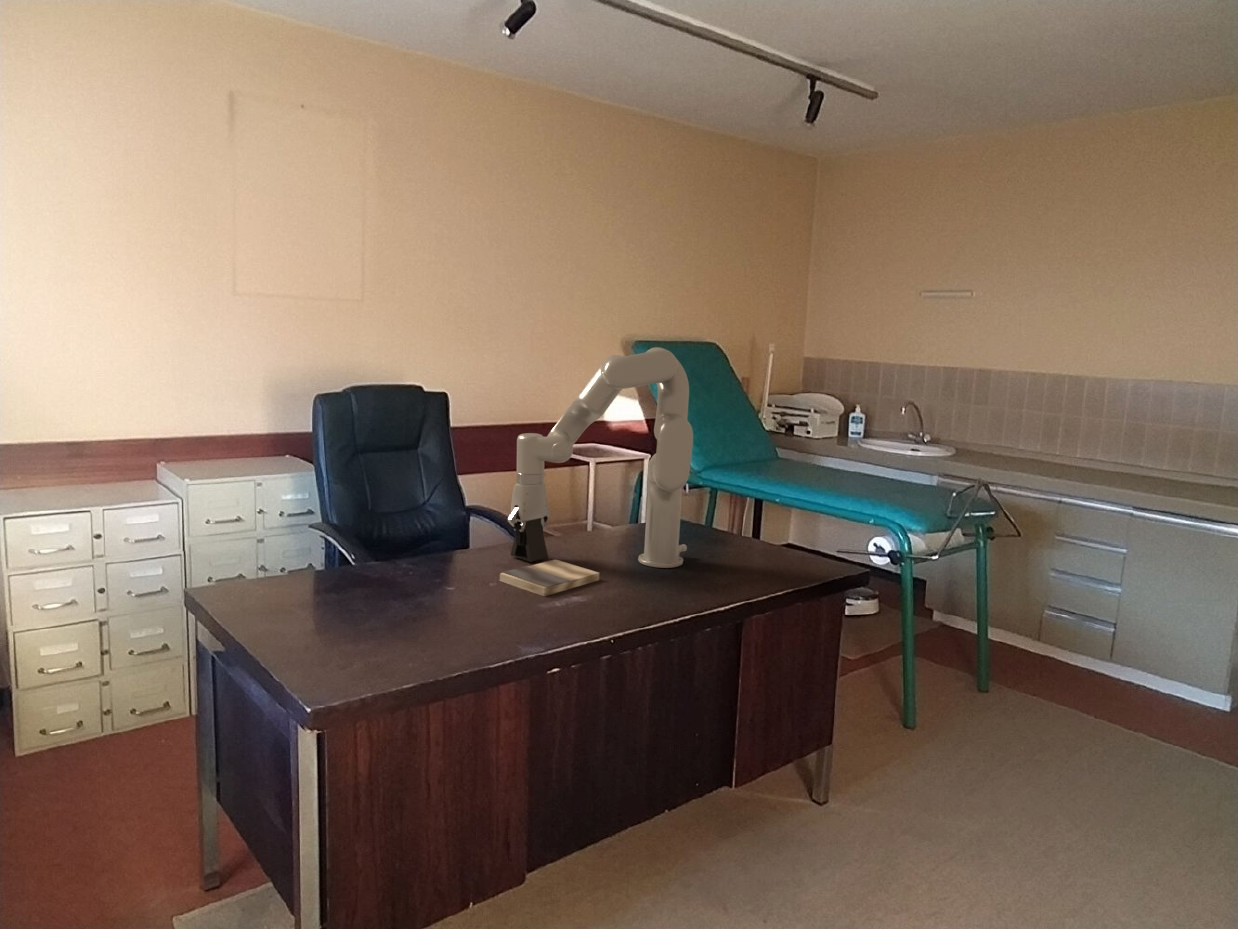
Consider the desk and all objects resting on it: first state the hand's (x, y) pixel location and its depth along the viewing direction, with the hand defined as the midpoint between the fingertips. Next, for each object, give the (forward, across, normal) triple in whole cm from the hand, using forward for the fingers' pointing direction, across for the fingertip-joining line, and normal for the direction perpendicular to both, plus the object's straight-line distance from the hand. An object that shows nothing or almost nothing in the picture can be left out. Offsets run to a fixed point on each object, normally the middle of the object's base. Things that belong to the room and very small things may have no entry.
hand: (529, 542), depth 247 cm
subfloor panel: (+5, +10, +18) cm, 21 cm away
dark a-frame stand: (+4, 0, 0) cm, 4 cm away
